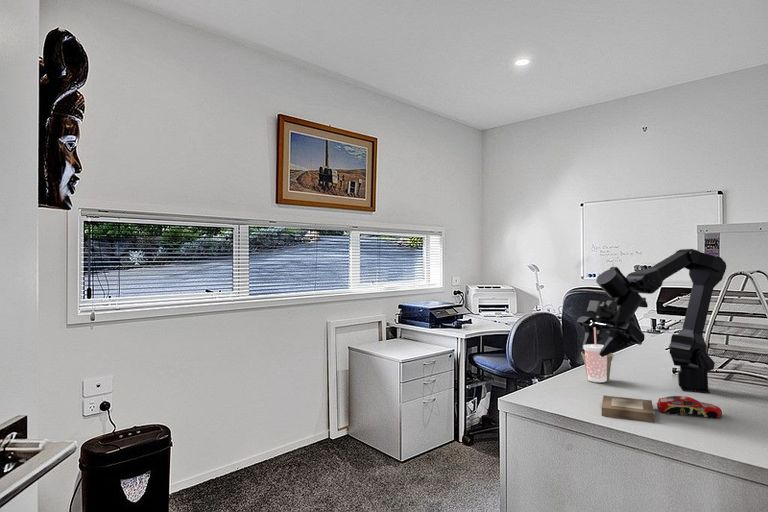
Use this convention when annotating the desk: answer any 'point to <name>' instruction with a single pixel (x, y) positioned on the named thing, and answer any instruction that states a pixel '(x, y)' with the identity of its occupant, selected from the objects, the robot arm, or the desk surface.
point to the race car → (688, 407)
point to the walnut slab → (627, 408)
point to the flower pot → (609, 359)
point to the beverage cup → (595, 362)
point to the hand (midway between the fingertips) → (591, 353)
